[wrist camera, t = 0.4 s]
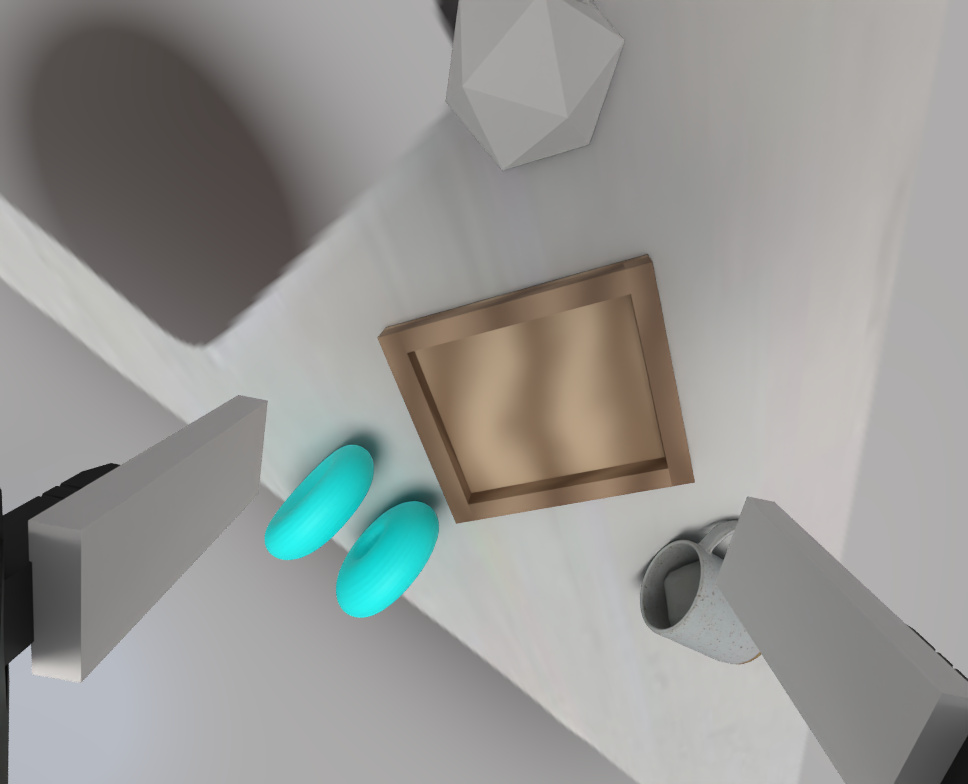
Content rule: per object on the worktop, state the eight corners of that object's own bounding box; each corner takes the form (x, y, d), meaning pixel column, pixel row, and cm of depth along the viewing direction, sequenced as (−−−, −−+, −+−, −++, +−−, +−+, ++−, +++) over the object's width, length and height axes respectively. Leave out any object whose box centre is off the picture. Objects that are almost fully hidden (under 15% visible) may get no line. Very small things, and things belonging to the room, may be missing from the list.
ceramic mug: (707, 615, 47) (731, 694, 41) (632, 576, 47) (645, 650, 40) (791, 541, 43) (834, 615, 36) (710, 496, 42) (739, 564, 36)
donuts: (380, 552, 49) (340, 646, 40) (295, 481, 47) (233, 565, 38) (456, 497, 45) (430, 588, 36) (368, 417, 43) (317, 494, 34)
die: (616, 145, 33) (681, 6, 23) (504, 224, 31) (524, 113, 22) (532, 47, 33) (562, -126, 24) (419, 120, 32) (404, -31, 23)
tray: (647, 254, 34) (652, 261, 33) (688, 465, 41) (694, 482, 39) (386, 327, 39) (377, 337, 37) (460, 507, 46) (456, 523, 44)
